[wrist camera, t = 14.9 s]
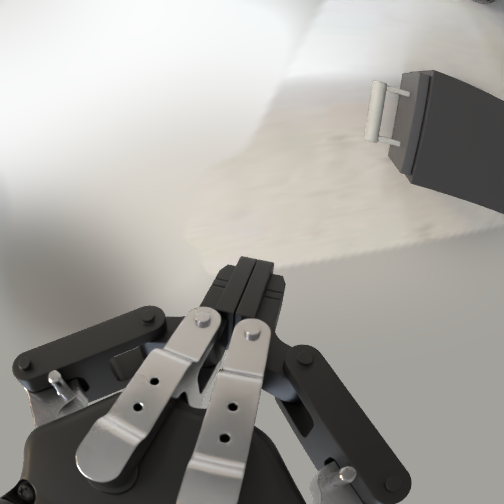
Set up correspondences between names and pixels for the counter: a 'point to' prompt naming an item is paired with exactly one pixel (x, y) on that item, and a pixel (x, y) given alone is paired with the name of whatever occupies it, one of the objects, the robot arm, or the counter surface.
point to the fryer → (461, 143)
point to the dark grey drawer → (400, 118)
